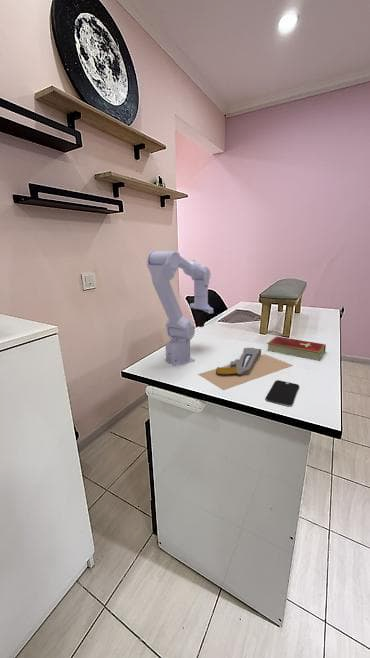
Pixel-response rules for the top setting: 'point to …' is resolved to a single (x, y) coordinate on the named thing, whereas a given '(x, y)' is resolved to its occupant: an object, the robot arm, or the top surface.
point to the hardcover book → (296, 347)
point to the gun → (242, 363)
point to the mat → (260, 369)
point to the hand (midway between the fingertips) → (201, 326)
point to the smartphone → (282, 393)
